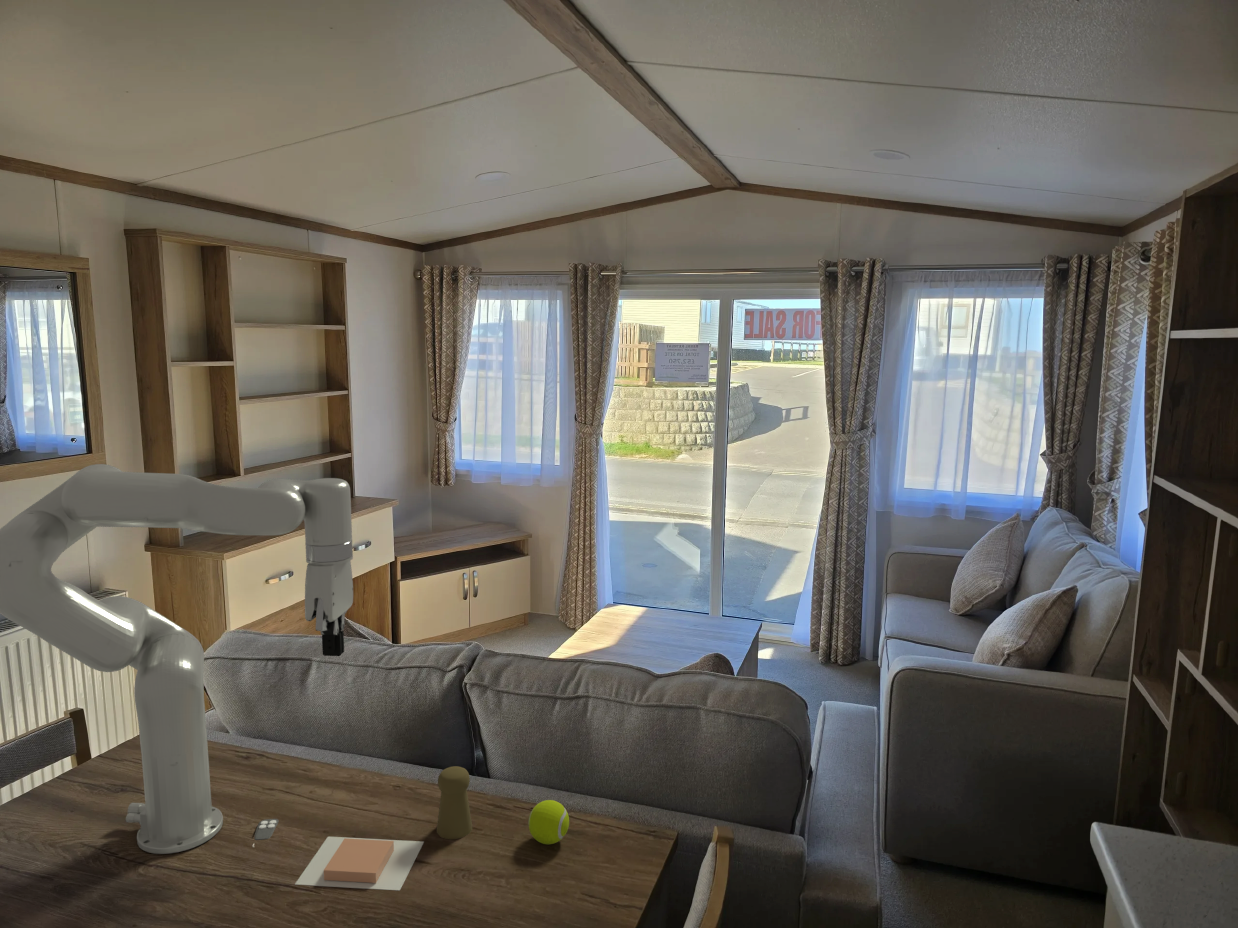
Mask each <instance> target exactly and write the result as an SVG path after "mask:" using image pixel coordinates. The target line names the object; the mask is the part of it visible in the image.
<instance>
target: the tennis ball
mask: <svg viewBox="0 0 1238 928" xmlns="http://www.w3.org/2000/svg"><path fill="white" fill-rule="evenodd" d="M569 827H570V816H569V813H568V811H567V809H566V808H565V807H564V805H563V804H562V803H560V802H558V801H556V800H553V799H547V800H542V801H540V802H538V803H537V804H536V805H534V807H533V808H532V810H531V811H530V813H529V815H528V830H529V833H530V835H531V836H532V838H533V839H535V841H537V842H538V843H541V844H543V845H553V844H556V843H558V842H560V841H561V840H563V838H564V837H565V836H566V834H567V833H568V830H569Z"/></svg>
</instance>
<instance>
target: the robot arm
mask: <svg viewBox="0 0 1238 928" xmlns="http://www.w3.org/2000/svg"><path fill="white" fill-rule="evenodd" d="M351 496H352V495H351V487H350V484H349V483H348V481H347V480H344V479H342V478H337V477H324V478H316V479H315V478H314V479H311V480H310V479H309V480H304V479H291V478H290V479H289V478H273V479H269V480H266V481H264V482H263V483H262V484H260V485H259V486H258V487H257V488H256V487H255V488H254V487H234V486H227V485H221V484H215V483H212V482H211V483H210V482H208V481H205V480H202V479H200V478H197V477H195V476H193V475H188V474H184V473H164V472H160V473H158V472H138V471H136V472H135V471H133V472H131V471H123V470H121V468H118V467H116V466H113V465H111V464H106V463H105V464H104V463H95V464H90V465H88V466H85V467H83V468H81V469H80V470H78V471H77V472H76V473H74V474H73V475H72V476H71V477H69V478H68V479H67V480H66V481H64V482H63V483H62V484H60V485H59V486H57V487H56V488H55V489H53V490H52V491H50V492H48V493H47V494H46V495H44V496H43V497H41V498H40V499H38V500H37V501H36V502H34V503H33V504H32V505H30V506H29V507H27V508H26V509H24V510H23V511H21V512H20V513H19V514H17V515H15V516H14V517H13V518H12V519H11V520H9V521H8V522H7V523H6V524H5V525H3V526H2V527H1V528H0V615H2V616H3V617H4V618H6V619H8V620H9V621H11V622H12V623H14V624H15V625H17V626H20V628H23V629H25V630H27V631H29V632H31V633H32V634H34V635H35V636H37V637H39V638H40V639H42V640H44V641H45V642H46V643H48V644H49V645H51V646H54V647H55V648H56V649H58V650H60V651H62V652H63V653H65V654H67V655H69V656H70V657H72V658H73V659H75V660H77V661H79V662H80V663H82V664H84V665H85V666H87V667H89V668H91V669H93V670H95V671H98V672H103V673H115V672H117V671H122V670H123V669H125V668H127V667H128V666H129V667H131V668H133V669H134V670H136V675H135V679H134V690H133V692H134V703H135V711H136V715H137V716H136V717H137V722H138V731H139V742H140V752H141V764H142V765H141V766H142V777H143V790H144V791H143V792H144V801H145V802H131V803H129V805H128V807H127V814H126V817H125V822H126V823H132V824H133V823H138V824H139V825H140V828H139V829H138V831H137V834H136V841H137V845H138V847H139V849H141V850H143V851H145V852H146V853H151V854H155V855H165V854H166V855H168V854H175V853H179V852H180V853H181V852H183V851H188V850H190V849H193V848H196V847H198V846H201V845H202V844H204V843H206V842H208V841H209V840H211V839H212V838H213V837H214V836H216V835H217V834H218V833H219V831H220V830H221V829H222V826H223V824H224V816H223V813H222V812H221V810H220V809H219V808H217V807H215V806H213V805H212V792H211V777H210V759H209V751H208V750H209V748H208V746H209V744H208V734H207V733H208V732H207V721H206V706H205V694H204V693H205V692H204V691H205V690H204V689H205V688H204V687H205V686H204V677H205V675H204V672H205V671H204V670H205V651H204V648H203V646H202V644H201V642H200V641H199V639H198V638H196V636H194V635H193V634H192V633H190V631H188V630H186V629H185V628H183V627H181V626H180V625H178V624H177V623H175V621H172V620H170V619H169V618H167V616H164V615H163V614H161V613H159V612H158V611H156V610H154V609H153V608H152V607H149V606H148V605H146V604H145V603H143V602H142V601H140V600H137V599H134V598H132V597H128V596H122V595H115V596H114V595H113V596H112V595H111V596H107V597H105V598H104V597H103V598H101V599H97V598H95V597H94V596H92V595H90V594H88V593H87V592H86V591H85V590H83V589H82V588H80V587H78V586H76V585H74V584H72V583H70V582H68V581H65V580H63V579H60V578H59V577H57V576H56V575H55V574H53V571H52V566H53V565H54V563H55V562H56V561H57V560H58V559H59V557H60V556H61V555H62V554H63V552H65V551H67V549H69V548H70V547H72V546H73V545H74V544H75V543H77V542H78V541H79V540H81V539H83V538H84V537H85V536H87V534H89V533H90V532H92V531H93V530H95V529H96V528H97V527H99V528H101V527H102V528H104V527H105V528H159V529H160V528H161V529H162V528H163V529H164V528H165V529H169V528H170V529H184V530H188V531H193V532H206V533H213V534H220V535H231V536H232V535H234V536H280V535H285V534H289V533H291V532H293V531H294V530H296V529H297V528H298V527H299V526H300V525H301V524H302V523H303V522H304V539H305V540H304V541H305V545H304V546H305V562H306V563H307V565H306V572H305V579H304V580H305V583H304V619H305V620H306V622H311V621H313V620H315V631H317V632H320V635H321V643H322V645H321V646H322V647H321V648H322V655H323V656H324V657H325V656H326V657H340V656H342V654H343V653H345V637H344V636H345V635H344V634H345V633H344V629H345V616H346V614H347V612H348V610H349V609H350V608H351V607H352V605H353V603H354V581H353V571H352V564H351V563H352V560H353V559H354V555H353V554H354V553H353V529H352V527H353V525H352V523H353V522H352V502H351V500H352V499H351V498H352V497H351Z"/></svg>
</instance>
